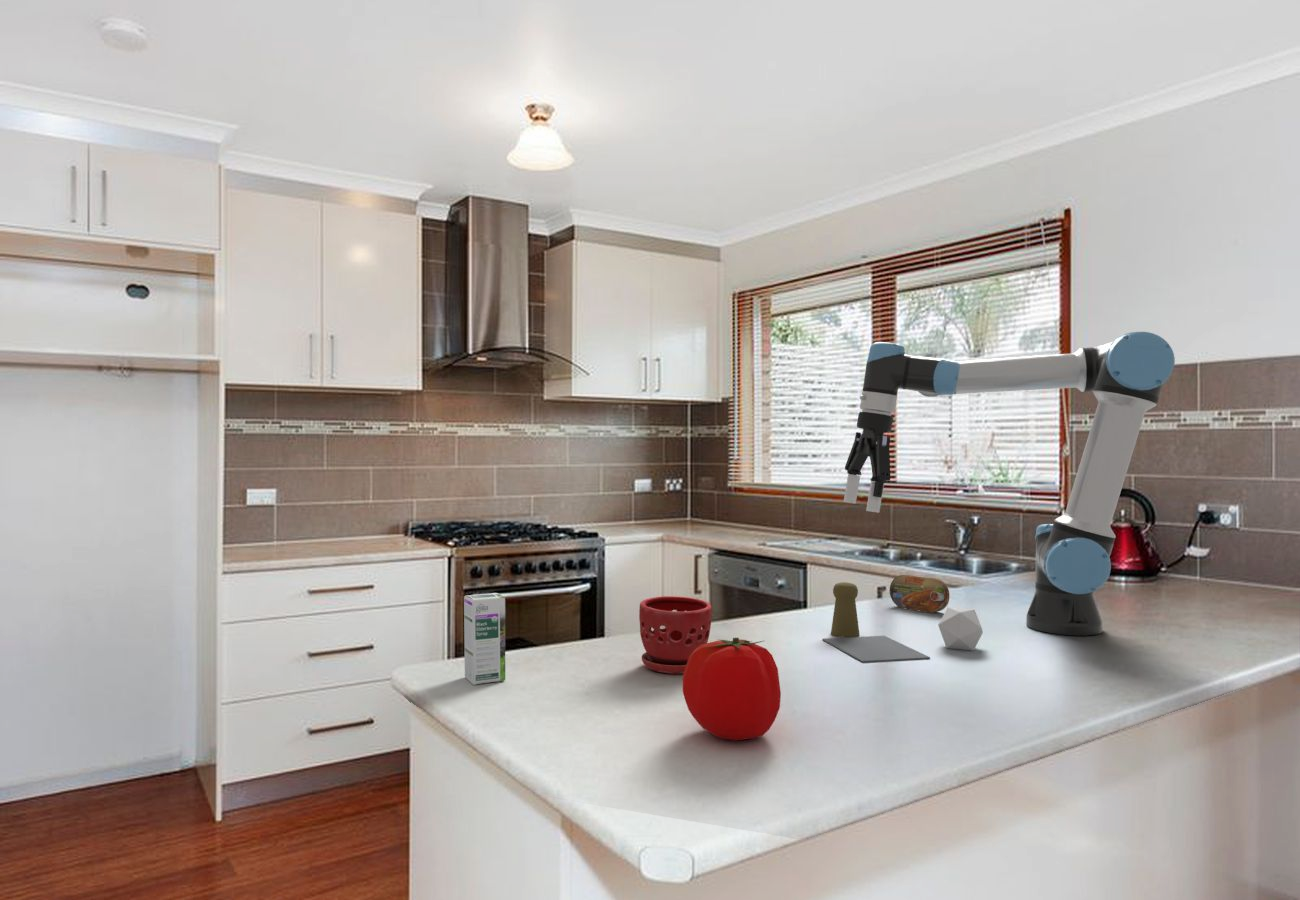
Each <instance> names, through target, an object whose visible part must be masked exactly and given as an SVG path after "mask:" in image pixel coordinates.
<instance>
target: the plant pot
mask: <svg viewBox="0 0 1300 900" xmlns="http://www.w3.org/2000/svg"><path fill="white" fill-rule="evenodd" d="M712 611H713V610H712V605H711V604H710V602H707V601H705V600H703V599H699V598H696V597H695V598H694V597H687V596H686V597H685V596H676V595H675V596H672V595H671V596H669V595H667V596H666V595H665V596H655V597H650V598H646V599H643V600H641V601H640V603H639V610H638V612H639V614H638V615H639V618H638V619H639V633H640V638H641V644H642V646H643V648H644V651H645V652H644V653H642V655H641V662H642V663H643V665H644V666H645V667H647V668H648V669H650V670H651V671H655V672H658V673H664V674H670V675H671V674H673V675H675V674H676V675H679V674H684V671H685V668H686V665H687V662H688V658H689V657H690V656H691V654H692V653H693V652H694V650H695V649H697V648H698V647H699V646H700V645H703V644H706V643H709V642H708V641H709V638H710V633H711V625H712ZM661 627H664V628H661ZM652 629H653V630H652Z"/></svg>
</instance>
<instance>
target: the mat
mask: <svg viewBox="0 0 1300 900" xmlns="http://www.w3.org/2000/svg"><path fill="white" fill-rule="evenodd" d="M822 641H823V642H825V643H827V644H829V645H831V646H832V647H834V648H836V649H837V650H839V651H841V652H843V653H845V654H846V655H848V656H850V657H852V658H853V659H855V660H857V661H858V662H860V663H877V662H895V661H896V662H897V661H898V662H899V661H916V660H931V656H928V655H926V654H924V653H923V652H920V651H918V650H915V649H914V648H911V647H909V646H907V645H905V644H903V643H901V642H899V641H897V640H894V639H892V638H890V637H888V636H886V635H870V636H858V637H833V638H831V637H830V638H829V637H828V638H827V637H826V638H822Z"/></svg>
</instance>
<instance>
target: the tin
mask: <svg viewBox="0 0 1300 900" xmlns="http://www.w3.org/2000/svg"><path fill="white" fill-rule="evenodd" d="M889 597H890V598H891V600H892V602H893V604H894V605H896V607H898V608H900V609H903V608H906V610H909V609H913V610H912V611H916V610H920V611H919V612H922V611H926V612H925V613H928V612H930V614H933V613H937V612H941V611H943V610H944V609H945V608H946V607H948V605H949V602H950V590H949V587H948V586H947V585H946V583H945V582H944V581H943V580H942V579H939V578H936V577H928V576H927V577H926V576H918V575H910V574H900V575H898V576H896V577H895V578H893V580H892V581H891V583H890V585H889Z"/></svg>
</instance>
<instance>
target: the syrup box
mask: <svg viewBox="0 0 1300 900" xmlns="http://www.w3.org/2000/svg"><path fill="white" fill-rule="evenodd" d="M463 615H464V617H463V618H464V619H463V620H464V622H463V625H464V627H463V629H464V630H463V632H464V633H463V635H464V637H463V638H464V642H463V643H464V645H463V646H464V678H465V679H466V680H467V681H468V682H469V683H470V684H471V685H473V686H475V685H481V684H488V683H489V684H490V683H496V682H505V681H506V598H505V596H503V595H502V594H500V593H498V592H492V593H480V594H470V595H464V596H463Z"/></svg>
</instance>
